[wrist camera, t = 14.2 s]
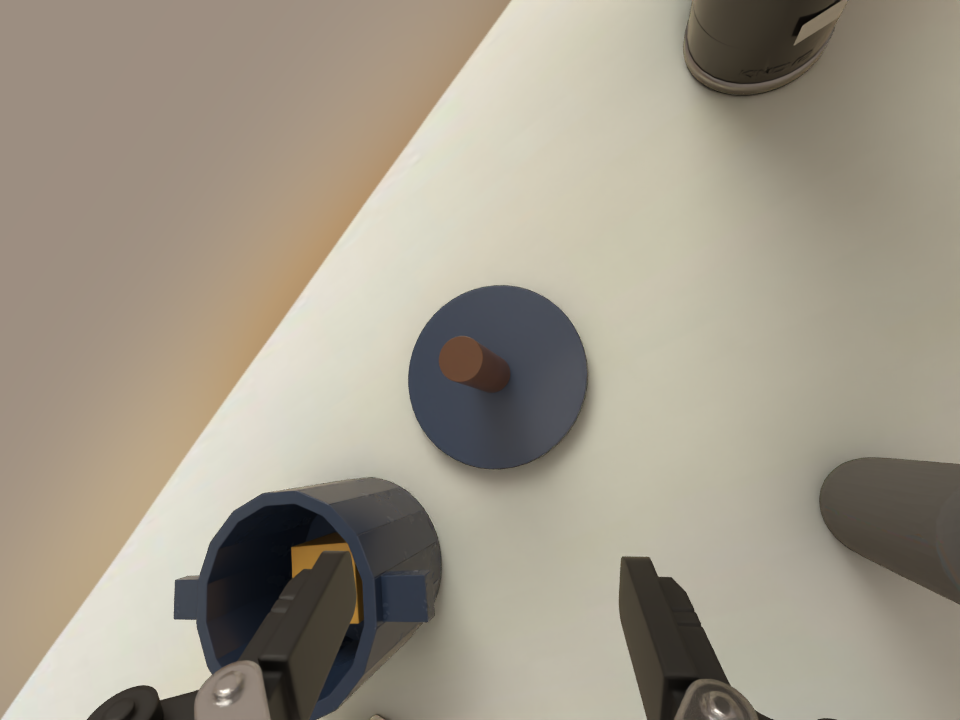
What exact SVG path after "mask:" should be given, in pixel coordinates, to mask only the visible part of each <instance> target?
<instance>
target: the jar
mask: <svg viewBox="0 0 960 720" xmlns="http://www.w3.org/2000/svg"><path fill="white" fill-rule="evenodd" d="M370 720H385V719H383V718H381V717H379V716H378V715H374V716H373V717H372V718H371V719H370Z"/></svg>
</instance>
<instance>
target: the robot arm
mask: <svg viewBox="0 0 960 720" xmlns="http://www.w3.org/2000/svg"><path fill="white" fill-rule="evenodd" d="M848 1H849V0H692V4H691V10H690V16H689V20H688V23H687V26H686V31H685V37H684V45H683V53H684V58H685V62H686V64H687V66H688V68H689V70H690V72H691V73H692V74H693V76H694V77H695V78H696V79H697V80H698V81H700V82H701V83H702V84H704V85H706V86H707V87H709V88H711V89H713V90H716V91H719V92H723V93H728V94H736V95H749V94H757V93H763V92H767V91H770V90H773V89H776V88H779V87H781V86H784V85H786V84H788V83H790V82H791V81H793V80H795V79H796V78H798V77H799V76H801V75H802V74H803V73H805V72H806V71H807V70H808V69H809V68H810V67H811V66H812V65H813V64H814V63H815V62H816V61H817V60H818V58H819V57H820V56H821V54H822V53H823V51H824V49H825V47H826V45H827V43H828V42H829V40H830V38H831V36H832V33H833V31H834V28H835V25H836V23H837V21H838V19H839V17H840V15H841V13H842V12H843V10H844V8H845V6H846V4H847V2H848ZM356 599H357V592H356V585H355V578H354V571H353V564H352V558H351V554H350V552H349V551H323V552H322V553H321V554H320V556H319V557H318V559H317V561H316V562H315V564H314V566H313V567H312V569H303V570H302V571H301V572H299V573H298V574H297V575H296V576H295V577H294V578H292V579H291V580H290V581H289V582H288V583H287V585H286V586H285V588H284V590H283V591H282V593H281V594H280V596H279V599H278V600H276V602H275V604H274V605H273V607H272V608H271V611H270V613H268V614H267V616H266V617H265V619H264V621H263V622H262V624H261V625H260V627H259V628H258V630H257V631H256V633H255V634H254V636H253V638H252V639H251V641H250V642H249V644H248V645H247V647H246V648H245V650H244V652H243V653H242V655H241V656H240V658H239V659H238V661H237V662H234V663H231V664H229V665H226V666H225V667H223V668H221V669H219V670H218V671H216V672H215V673H214V674H213V675H211V676H210V677H209V678H208V679H207V680H206V681H205V683H204V684H203V685H202V686H201V688H200V690H197V691H194V692H190V693H186V694H183V695H179V696H175V697H171V698H168V699H164V700H160V699H159V696H158V693H157V691H156V690H155V689H154V688H153V687H150V686H144V685H143V686H136V687H132V688H129V689H126V690H124V691H122V692H120V693H118V694H116V695H114V696H113V697H111V698H110V699H108V700H107V701H106V702H104V703H103V704H102V705H101V706H99V707H98V708H97V709H96V710H95V711H94V712H93V713H92V714H91V715H90V717H89V718H88V719H87V720H309V719H310V717H311V715H312V712H313V710H314V708H315V705H316V703H317V700H318V698H319V696H320V693H321V691H322V689H323V686H324V684H325V681H326V679H327V677H328V674H329V672H330V670H331V667H332V665H333V662H334V660H335V658H336V655H337V653H338V651H339V648H340V646H341V643H342V641H343V639H344V636H345V634H346V632H347V629H348V627H349V624H350V622H351V620H352V617H353V615H354V611H355V607H356ZM619 612H620V619H621V624H622V628H623V632H624V635H625V639H626V643H627V646H628V650H629V654H630V657H631V661H632V665H633V668H634V672H635V676H636V680H637V683H638V687H639V691H640V694H641V698H642V702H643V705H644V709H645V713H646V716H647V720H773V719H770V718H768V717H766V716H764V715H762V714H760V713H759V712H757V711H756V710H754V708H753V707H752V705H751V704H750V702H749V701H748V700H747V699H746V698H745V697H744V696H743V695H742V694H741V693H740V692H738V691H737V690H736V689H734V688H733V687H731V685H730V684H729V682H728V680H727V678H726V676H725V673H724V671H723V669H722V667H721V665H720V663H719V661H718V659H717V657H716V654H715V652H714V650H713V648H712V646H711V644H710V642H709V640H708V638H707V635H706V633H705V631H704V629H703V627H701V623H700V621H699V619H698V616H697V614H696V613H695V612H694V608H693V606H692V604H691V602H690V600H689V597H688V595H687V593H686V592H685V591H684V590H683V589H682V588H681V587H680V586H679V585H678V584H677V583H676V582H675V581H674V580H673V579H672V578H671V577H658V575H657V573H656V571H655V568H654V566H653V563H652V561H651V559H650V558H649V557H622V558H621V568H620V586H619ZM818 720H835V719H828V718H823V719H818Z"/></svg>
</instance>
